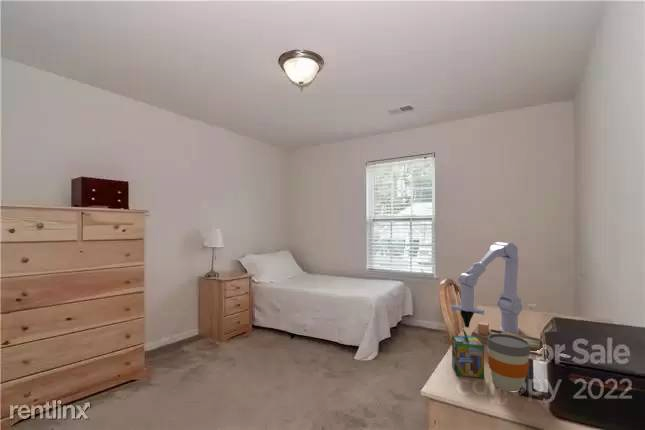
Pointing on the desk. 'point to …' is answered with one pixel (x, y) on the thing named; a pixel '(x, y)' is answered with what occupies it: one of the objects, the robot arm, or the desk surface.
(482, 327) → the block
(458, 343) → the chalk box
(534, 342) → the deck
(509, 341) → the reusable coffee cup
